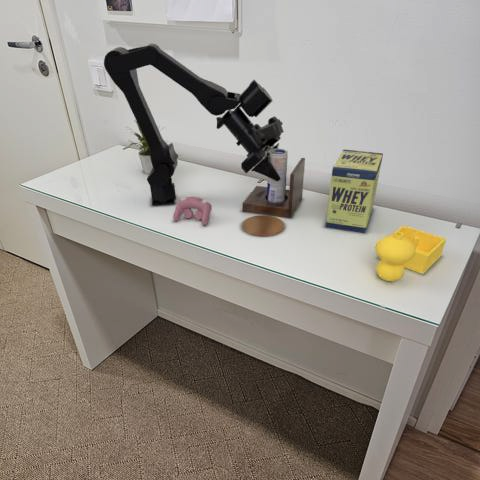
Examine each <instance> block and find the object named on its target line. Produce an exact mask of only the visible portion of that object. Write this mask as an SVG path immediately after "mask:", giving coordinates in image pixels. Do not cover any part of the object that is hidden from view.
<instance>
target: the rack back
mask: <svg viewBox="0 0 480 480" xmlns="http://www.w3.org/2000/svg"><path fill="white" fill-rule="evenodd" d="M305 166H306V158H305V157H301V158H300V159H299V161H298V163H297V164H296V165H295V167H294V168H293V170H292V171H291V173H290V174H289V189H288V190H289V206H288V209H289V211H288V217H289V218H288V219H292V218H291V213H289V212H291V210H292V212H295V213H296V211H294V210H295V209H294V208H296V207H295V205H296V202H297V200H298V198H299V197H301V198H299V199H300V200H301V201H300V200H299V201H298V203H299V202H300V203H301V202H302V200H303V191H304V176H305ZM301 195H302V196H301ZM293 207H294V208H293ZM295 213H293V214H292V215H293V216H294V214H295Z"/></svg>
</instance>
